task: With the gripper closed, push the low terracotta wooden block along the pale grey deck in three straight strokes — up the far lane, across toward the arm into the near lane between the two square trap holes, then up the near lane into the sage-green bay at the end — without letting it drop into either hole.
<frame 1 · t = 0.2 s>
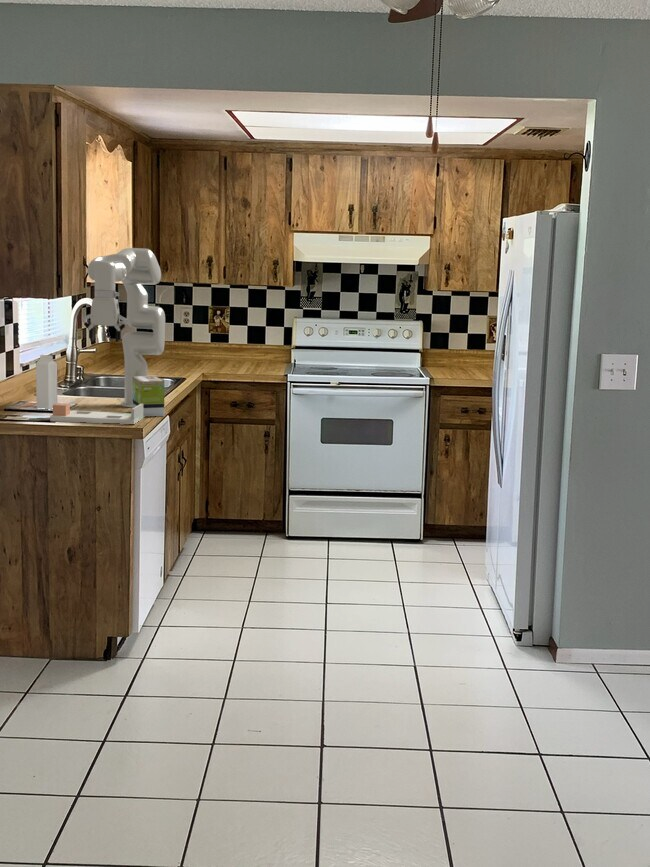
hand: (105, 341, 356), 31 cm above the countertop, tool pointing down, fingers open, 9 cm apart
block: (61, 414, 364), point 2 cm above the countertop, touching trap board
tea box: (148, 414, 386), on the countertop
milk: (47, 409, 389), on the countertop
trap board: (97, 419, 367), on the countertop
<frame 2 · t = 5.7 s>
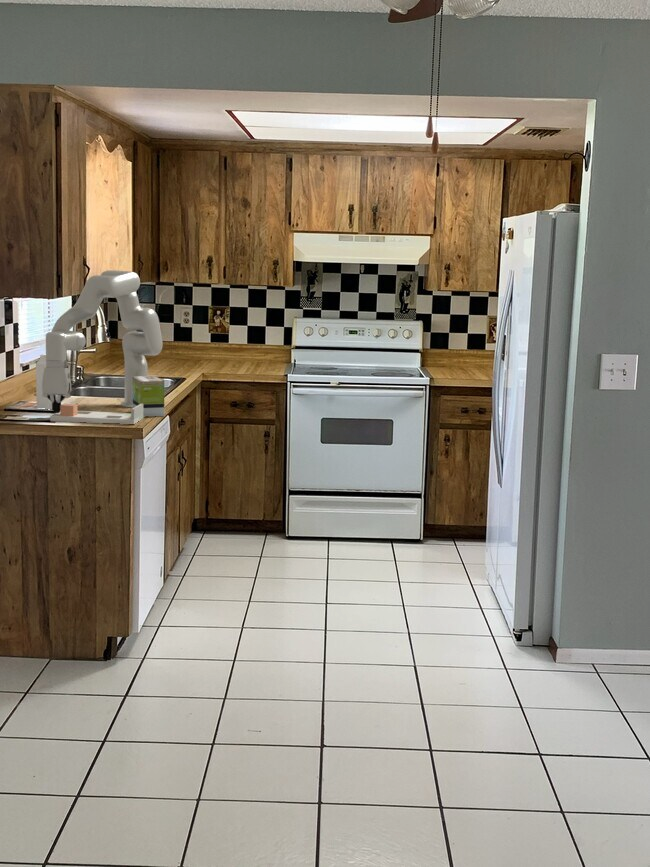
hand: (56, 412, 363), 3 cm above the countertop, tool pointing down, fingers closed
block: (69, 415, 363), point 2 cm above the countertop, touching gripper
everything else where it was.
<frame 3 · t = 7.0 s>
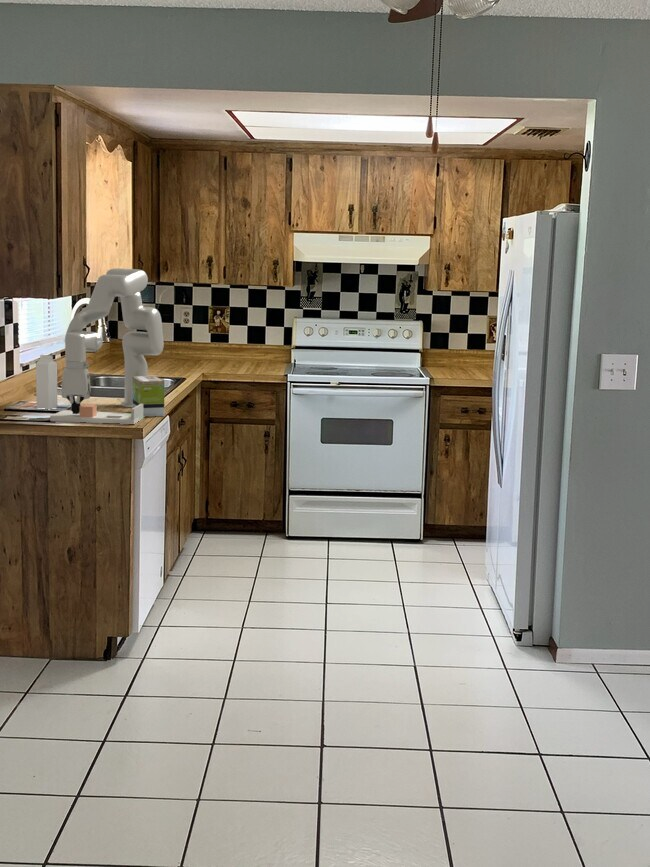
hand: (75, 413, 363), 3 cm above the countertop, tool pointing down, fingers closed
block: (88, 416, 363), point 2 cm above the countertop, touching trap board
everything else where it was.
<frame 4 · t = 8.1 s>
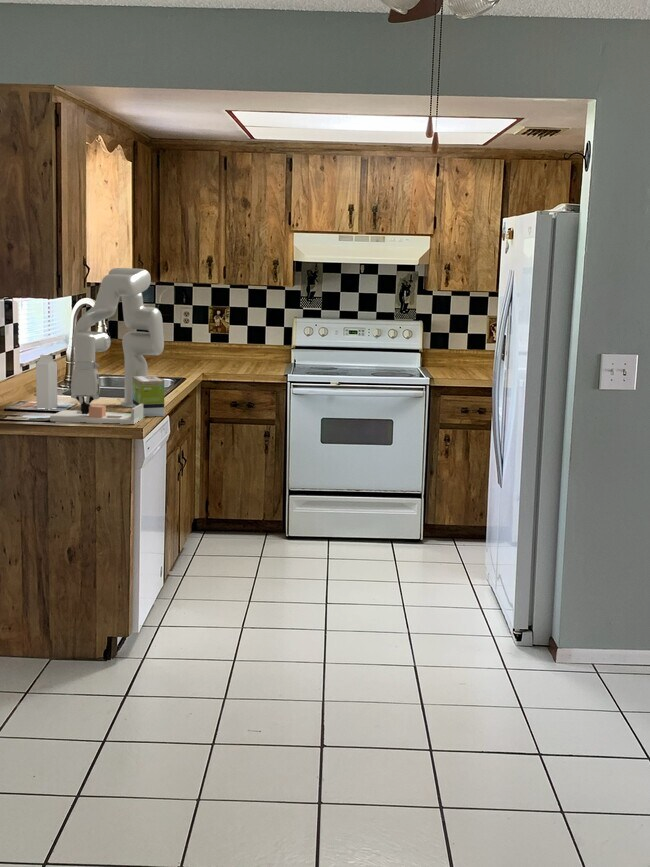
hand: (85, 413, 363), 3 cm above the countertop, tool pointing down, fingers closed
block: (97, 416, 362), point 2 cm above the countertop, touching gripper, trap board
everything else where it was.
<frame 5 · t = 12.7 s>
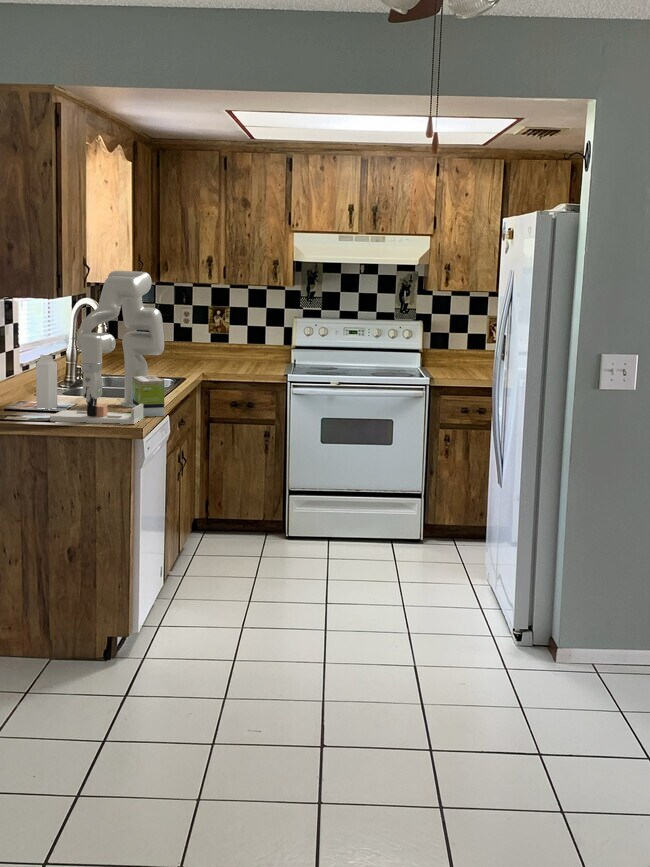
hand: (91, 416, 359), 3 cm above the countertop, tool pointing down, fingers closed
block: (99, 415, 364), point 2 cm above the countertop
everything else where it was.
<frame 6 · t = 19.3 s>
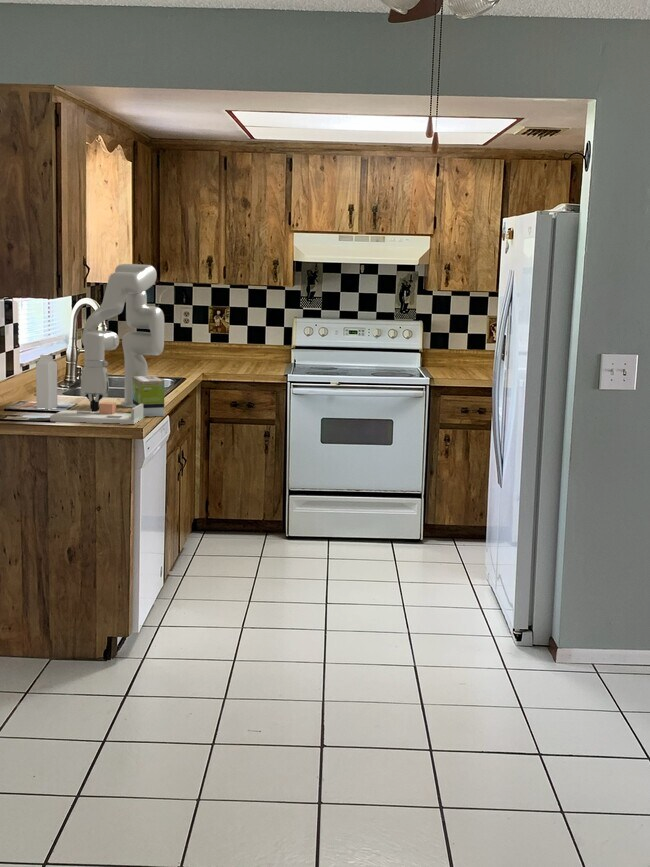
hand: (94, 411, 370), 3 cm above the countertop, tool pointing down, fingers closed
block: (107, 413, 371), point 2 cm above the countertop, touching gripper, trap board
everything else where it was.
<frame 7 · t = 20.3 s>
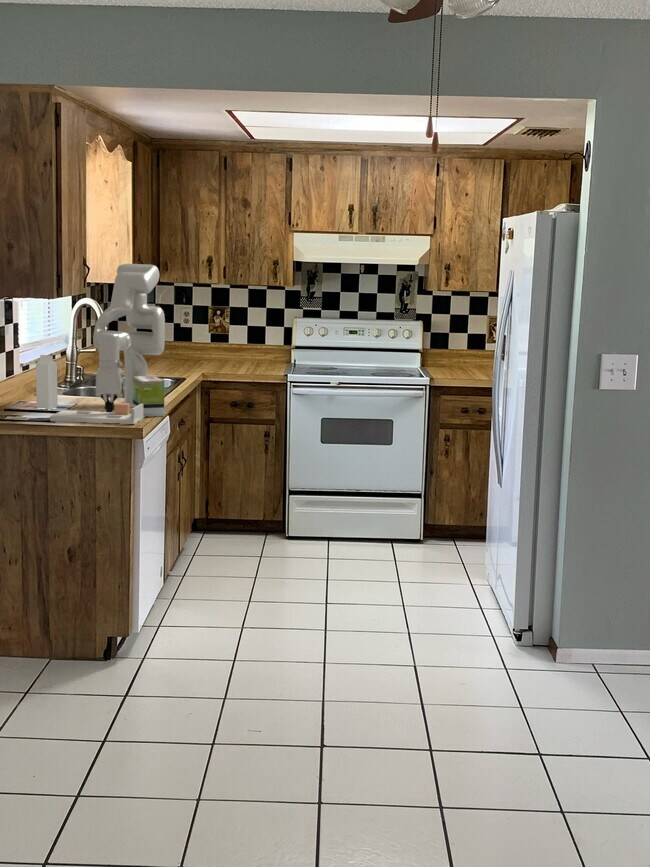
hand: (109, 411, 370), 3 cm above the countertop, tool pointing down, fingers closed
block: (122, 413, 371), point 2 cm above the countertop, touching gripper
everything else where it was.
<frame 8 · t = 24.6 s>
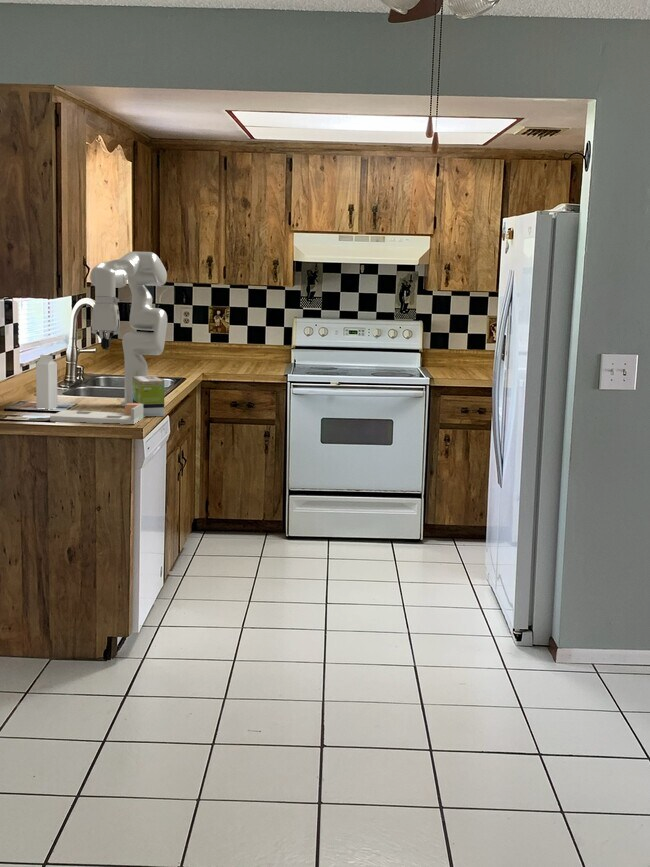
hand: (105, 349, 366), 27 cm above the countertop, tool pointing down, fingers closed
block: (133, 414, 371), point 2 cm above the countertop, touching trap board
everything else where it was.
at the end: block inside the target area on the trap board (2.0 cm from its centre), point 2.0 cm above the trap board's base; block tilted 0° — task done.
